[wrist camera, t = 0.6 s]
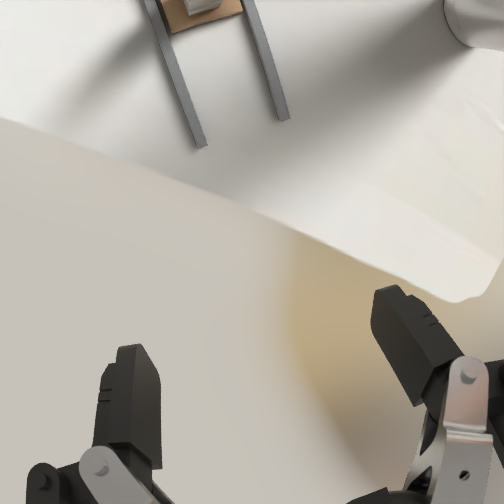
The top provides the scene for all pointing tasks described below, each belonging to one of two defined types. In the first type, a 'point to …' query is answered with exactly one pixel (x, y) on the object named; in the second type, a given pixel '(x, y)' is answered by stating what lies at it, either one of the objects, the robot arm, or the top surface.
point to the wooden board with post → (197, 12)
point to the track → (180, 83)
